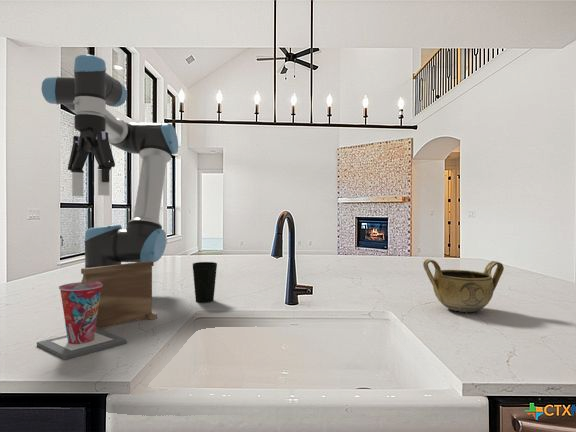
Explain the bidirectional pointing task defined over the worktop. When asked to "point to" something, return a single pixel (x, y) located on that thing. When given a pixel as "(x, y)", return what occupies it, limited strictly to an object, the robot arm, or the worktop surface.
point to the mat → (80, 345)
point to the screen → (122, 292)
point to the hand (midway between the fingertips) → (90, 195)
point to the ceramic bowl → (464, 286)
